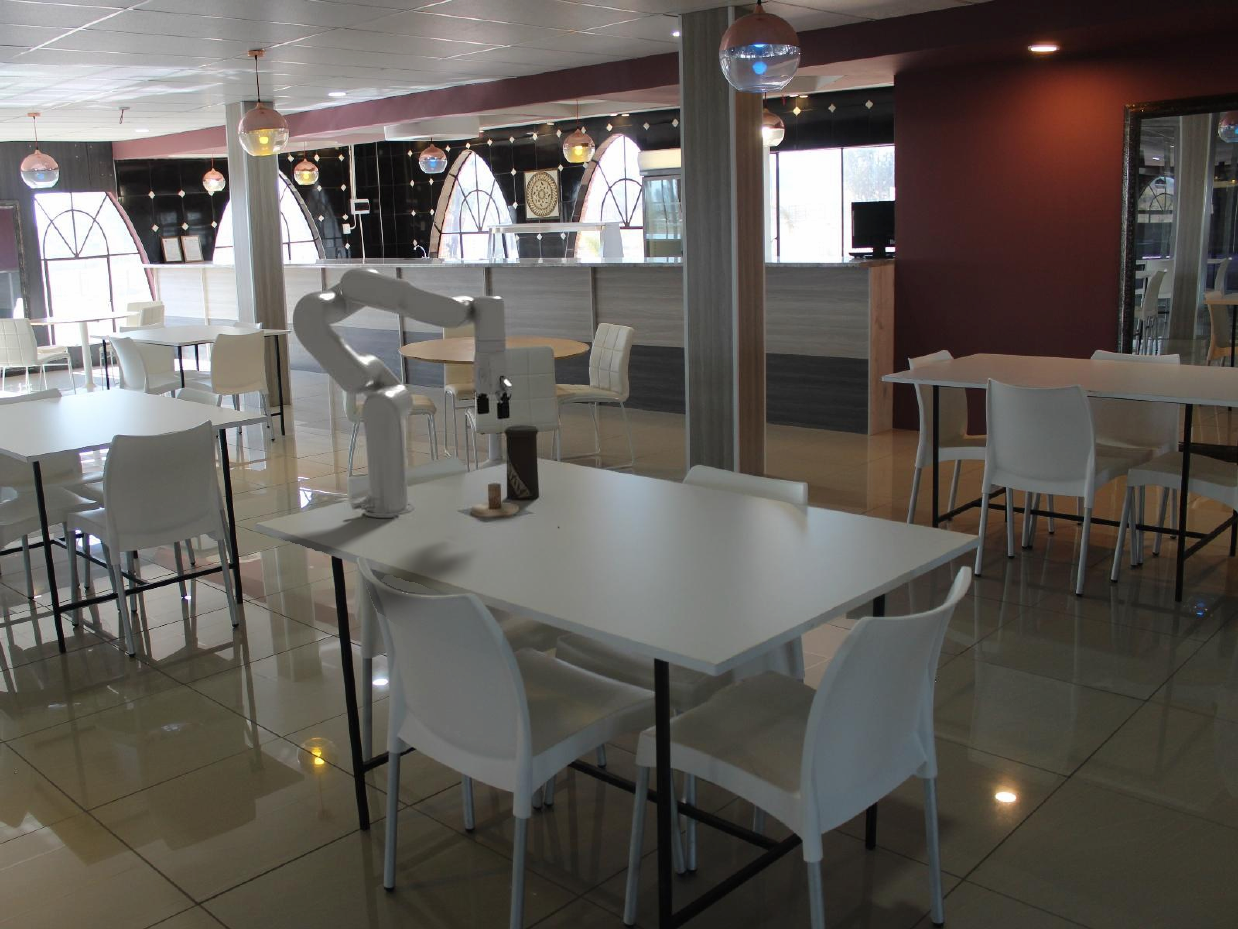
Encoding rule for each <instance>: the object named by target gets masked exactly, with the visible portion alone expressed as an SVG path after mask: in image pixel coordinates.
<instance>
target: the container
mask: <svg viewBox="0 0 1238 929" xmlns="http://www.w3.org/2000/svg"><path fill="white" fill-rule="evenodd" d="M538 433H539V429H538V428H537V427H536V426H533V425H527V424H525V425H522V424H521V425H519V424H518V425H512V426H507V427H506V428H505V429H504V434H505V437H506V440H505V442H506V499H507V500H509V501H519V502H521V501H523V502H524V501H534V500H537V499H539V498H540V488H539V487H540V485H539V470H538V469H539V467H538V448H537V447H538V445H537V444H538V442H537V440H538V438H537V437H538V436H537V435H538Z"/></svg>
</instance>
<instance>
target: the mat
mask: <svg viewBox="0 0 1238 929" xmlns="http://www.w3.org/2000/svg"><path fill="white" fill-rule="evenodd" d="M471 508H472V507H470V508H465V509H464V508H463V509H459V510H457V512H459V513H461V514H464V515H466V516H469V517H472V518H474V519H475V520H479V521H481V522H484V523H488V522H493V521H499V520H504V519H509V518H515V517H520V516H524V515H525V516H526V515H530V514H534V512H533V511H530V510H526V509H525V508H521V507H519V512H518V513H517V514H515V515H512V516H507V517H498V518H485V517H478V516H474V515H473V514H471Z"/></svg>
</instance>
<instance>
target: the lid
mask: <svg viewBox="0 0 1238 929" xmlns="http://www.w3.org/2000/svg"><path fill="white" fill-rule="evenodd" d="M501 486H502V484H501V483H497V482H495V483H488V484H487V494H488V495H487V497H488V498H487V499H488V502H483V503H480V504H479V503H478V504H476V505H473V506H472V507H470V508H471V514H473V515H474V516H478V517H485V518H498V517H507V516H512V515H515V514H517V513H518V512H519V508H520V506H519V505H518V504H515V503H511V502H505V501H504V502H503V501H502V487H501Z"/></svg>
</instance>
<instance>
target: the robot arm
mask: <svg viewBox="0 0 1238 929" xmlns="http://www.w3.org/2000/svg"><path fill="white" fill-rule="evenodd" d="M366 307H369V308H373V309H377V310H380V311H385V312H389V313H392V314H396V315H400V316H402V317H404V318H408V319H410V320H415V321H417V322H420V323H424V324H428V325H433V326H435V327H439V328H444V329H448V330H453V329H459V328H461V327H465V326H469V325H473V330H474V334H473V335H474V357H473V369H472V370H473V374H472V375H473V378H472V385H473V390H474V392H475V396H474V397H475V399H476V414H477V415H485V414H490V398H489V397H488V396H489V395H490V396H493V395H495V398H496V399H497V403H496V415H497V416H496V417H497V420H504V419H505V420H506V419H510V415H511V414H510V413H511V412H510V403H511V398H512V391H513V385H512V384H511V383H510V380H509V369H508V368H509V366H508V361H507V355H506V354H507V346H506V344H507V343H506V342H507V341H506V319H505V318H506V317H505V316H506V314H505V301H504V299H503V298H502V297H501V296H498V295H482V296H481V295H480V296H472V295H465V294H464V295H463V294H462V295H461V294H460V295H453V296H445V295H443V294H442V295H441V294H437V293H434V292H430V291H427V290H424V289H421V288H419V287H417V286H415V285H414V284H413V283H412V282H410V281H409V280H407V279H402V278H399V277H394V276H390V275H386V274H382V273H380V272H379V271H377V270H376V269H374V268H371V267H357V268H351V269H349V270H346V272H344V274H342V276H341V277H340V281H339V282H338V283H337V284H335V285H334V286H332V287H330V288H328V289H327V290H326V289H325V290H320V291H314V292H309V293H306V294H305V295H304V296H302V297H301V298H300V299H299V300H298V301H297V303H296V304H295V307H294V309H293V315H292V327H293V332H294V333H295V335H296V338H297V339H298V341H299V343H300V344H301V345H302V346H303V348H305V350H306V351H307V352H308V353H309V354H310V355H311V356H312V357H313V358H314V359H315V361H317V362H318V363H319V365H320V366H321V367H322V369H323V370H325V372H326V373H327V374H328V375H329V376H330V377H331V379H333V381H335V383H336V384H337V386H339V387H340V388H341V389H342V390H343V391H344V392H345V393H347V394H349V395H355V396H358V395H361V394H363V395H365V397H366V398H365V400H364V402H363V404H362V408H361V418H362V423H363V428H364V432H365V433H364V434H365V435H364V436H365V443H366V457H367V459H366V460H367V461H366V462H367V477H368V494H367V495H365V498H363V499H362V500H361V501H360V500H359V501H358V500H357V501H352V502H351V503H350V507H351V509H352V510H353V511H354V510H359V509H360V510H361V511H363V514H364V515H365V516H367V517H370V518H378V519H379V518H380V519H389V518H392V519H393V518H398V517H400V515H404V514H409V513H411V512H413V511H414V510H415V506H414V504H412V503H409V501H408V500H409V499H408V496H409V494H408V480H407V479H408V474H407V458H406V457H407V456H406V453H407V452H406V443H405V442H406V441H405V435H404V434H405V433H404V430H403V425H402V421H404V420H405V419H407V418H408V417H409V416H410V414H411V413H412V411H413V408H414V400H413V396H412V394H411V393H410V390H408V388H407V387H406V386H405V385H404V384H403V382H402V381H400V379H399V378H398V377H397V376H396V375H395V374H394V373H393V371H391V369H390V368H389V367H388V366H387V365H386V364H385V363H384V362H383V361H382V360H381V359H379V358H378V357H377V356H375V355H373V354H370V353H359V354H358V353H357V352H356V351H355V350H354V348H352V347H351V346H350V345H349V344H348V343H347V341H346V340H345V339H344V338H343V337H342V336H340V335H339V334H338V333H337V332H336V331H334V330H333V329H332V328H331V326H330V325H333V324H338V323H339V322H342V321H344V320H346V319H347V318H349V317H351V316H353V314H355V313H357V312H359V311H360V310H362V309H364V308H366Z"/></svg>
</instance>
